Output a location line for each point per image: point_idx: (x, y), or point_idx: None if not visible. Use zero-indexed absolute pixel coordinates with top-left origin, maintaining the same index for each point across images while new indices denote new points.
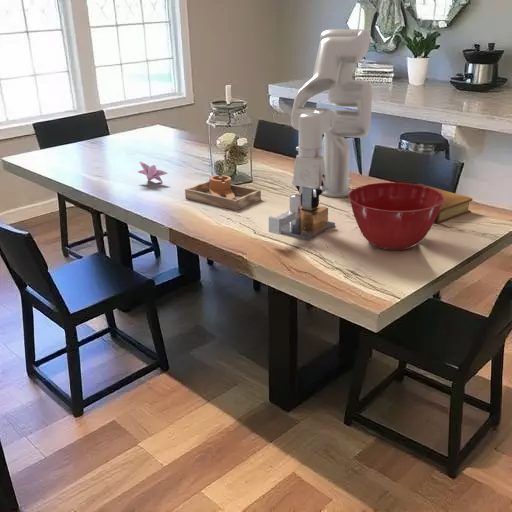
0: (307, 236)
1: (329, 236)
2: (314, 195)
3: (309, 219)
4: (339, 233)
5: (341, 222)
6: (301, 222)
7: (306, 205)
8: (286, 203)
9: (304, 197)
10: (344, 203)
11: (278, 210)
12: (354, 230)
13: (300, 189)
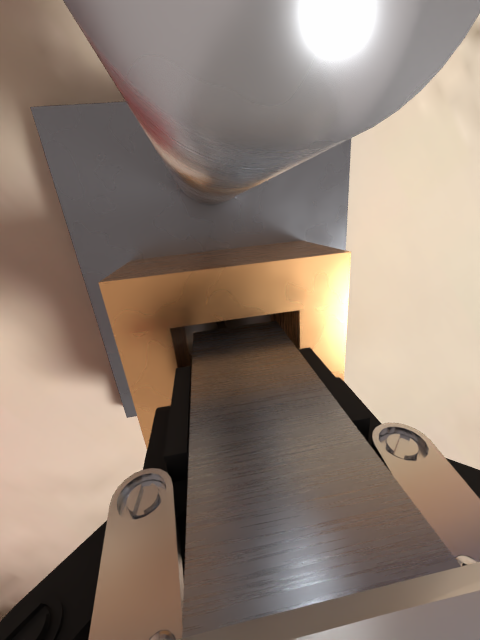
0: (60, 122)
1: (20, 275)
2: (150, 495)
3: (154, 268)
4: (22, 348)
5: (140, 452)
6: (226, 253)
7: (248, 358)
8: (462, 444)
9: (300, 405)
10: None
11: (460, 372)
12: (7, 425)
13: (445, 488)
